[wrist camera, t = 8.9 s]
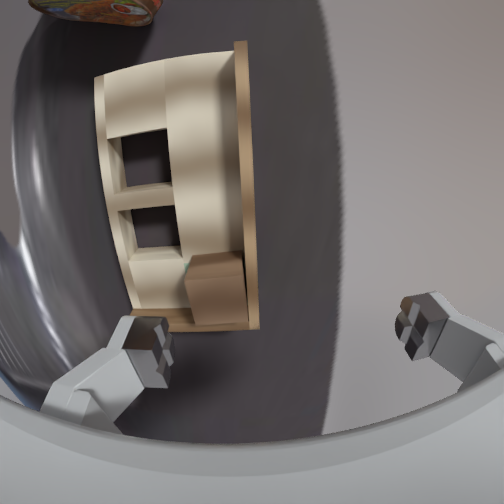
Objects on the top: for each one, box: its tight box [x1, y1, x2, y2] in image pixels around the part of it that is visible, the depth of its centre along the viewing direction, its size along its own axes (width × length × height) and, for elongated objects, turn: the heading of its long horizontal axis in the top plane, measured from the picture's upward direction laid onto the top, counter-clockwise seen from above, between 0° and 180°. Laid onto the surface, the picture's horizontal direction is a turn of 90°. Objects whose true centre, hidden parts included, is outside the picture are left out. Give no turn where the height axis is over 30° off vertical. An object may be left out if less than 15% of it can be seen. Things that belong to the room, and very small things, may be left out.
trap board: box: [94, 41, 259, 332], centre depth 22 cm, size 24×13×6 cm, turn 3°
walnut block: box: [184, 250, 248, 325], centre depth 23 cm, size 4×4×4 cm
